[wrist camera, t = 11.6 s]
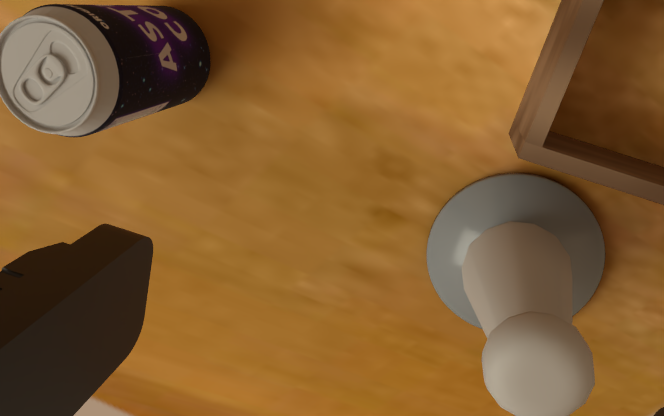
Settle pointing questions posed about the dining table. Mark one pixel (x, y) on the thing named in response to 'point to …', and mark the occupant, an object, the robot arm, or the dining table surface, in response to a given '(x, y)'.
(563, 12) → the walnut box
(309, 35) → the dining table surface
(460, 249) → the slate coaster
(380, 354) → the dining table surface
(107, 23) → the beverage can
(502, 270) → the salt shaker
